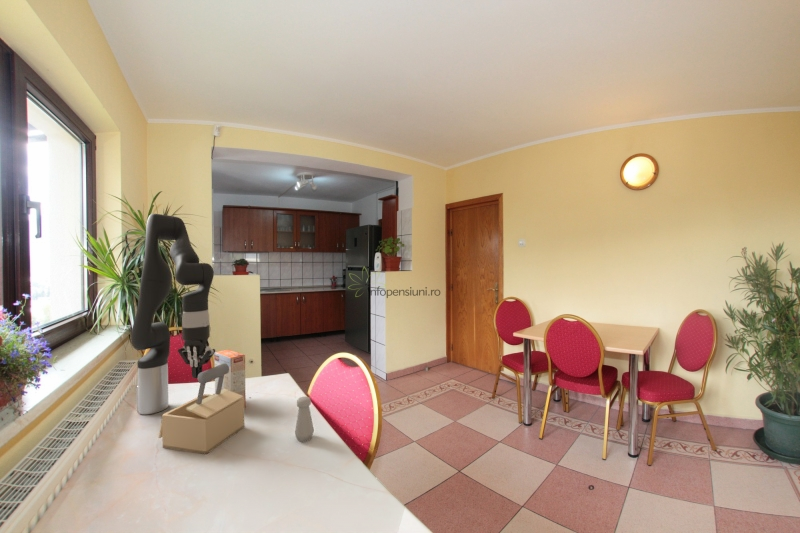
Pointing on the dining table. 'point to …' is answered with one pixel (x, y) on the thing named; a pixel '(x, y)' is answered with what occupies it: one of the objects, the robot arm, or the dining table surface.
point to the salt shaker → (304, 420)
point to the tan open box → (200, 427)
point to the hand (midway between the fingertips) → (197, 377)
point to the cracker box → (232, 371)
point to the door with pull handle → (217, 399)
